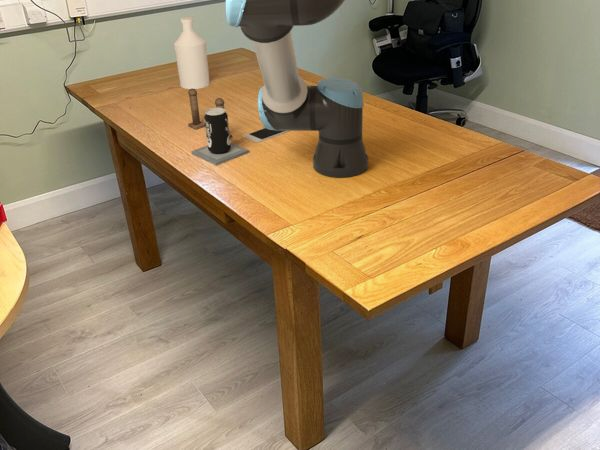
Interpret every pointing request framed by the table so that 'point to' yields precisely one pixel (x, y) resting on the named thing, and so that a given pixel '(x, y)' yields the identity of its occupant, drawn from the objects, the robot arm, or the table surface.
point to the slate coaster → (220, 158)
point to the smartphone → (263, 135)
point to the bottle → (191, 57)
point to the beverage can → (217, 130)
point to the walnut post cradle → (195, 110)
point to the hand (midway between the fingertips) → (296, 21)
